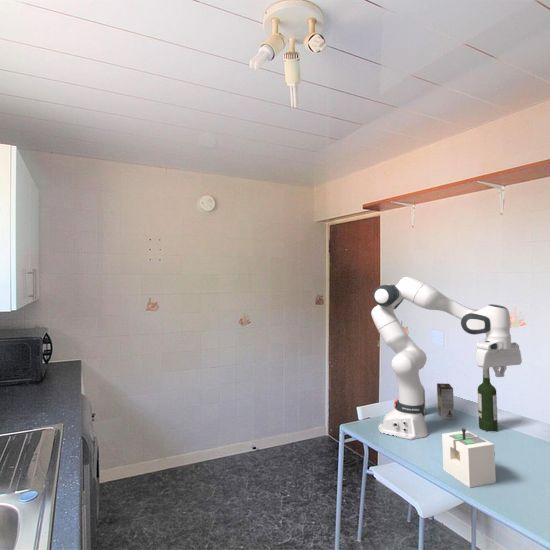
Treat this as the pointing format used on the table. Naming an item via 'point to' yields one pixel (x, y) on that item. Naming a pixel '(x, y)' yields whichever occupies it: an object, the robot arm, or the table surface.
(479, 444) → the tuner housing
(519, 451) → the table surface
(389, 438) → the table surface
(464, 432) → the peg
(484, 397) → the wine bottle
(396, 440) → the table surface
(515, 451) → the table surface
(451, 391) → the coffee box
